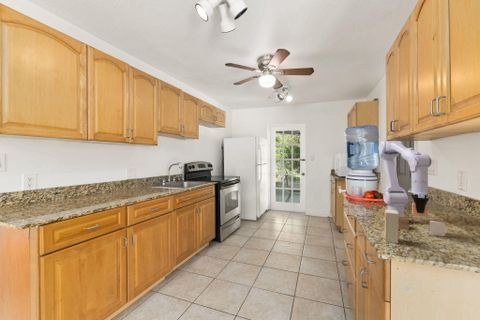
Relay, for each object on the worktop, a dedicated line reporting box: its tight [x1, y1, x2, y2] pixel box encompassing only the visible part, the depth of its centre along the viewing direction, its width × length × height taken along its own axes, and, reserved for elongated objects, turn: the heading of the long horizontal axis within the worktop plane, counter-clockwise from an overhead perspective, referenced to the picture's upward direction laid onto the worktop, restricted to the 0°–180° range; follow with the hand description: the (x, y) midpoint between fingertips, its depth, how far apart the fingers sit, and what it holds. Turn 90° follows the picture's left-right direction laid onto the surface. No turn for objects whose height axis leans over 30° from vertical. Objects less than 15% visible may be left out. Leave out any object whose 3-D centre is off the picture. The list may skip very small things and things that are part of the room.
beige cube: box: [429, 220, 446, 237], centre depth 97 cm, size 5×5×5 cm
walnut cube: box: [398, 216, 410, 231], centre depth 106 cm, size 5×5×5 cm
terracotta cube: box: [411, 202, 429, 218], centre depth 97 cm, size 5×5×5 cm
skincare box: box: [384, 209, 399, 245], centre depth 89 cm, size 6×4×12 cm
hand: (419, 211), depth 97 cm, fingers closed on terracotta cube, 5 cm apart
